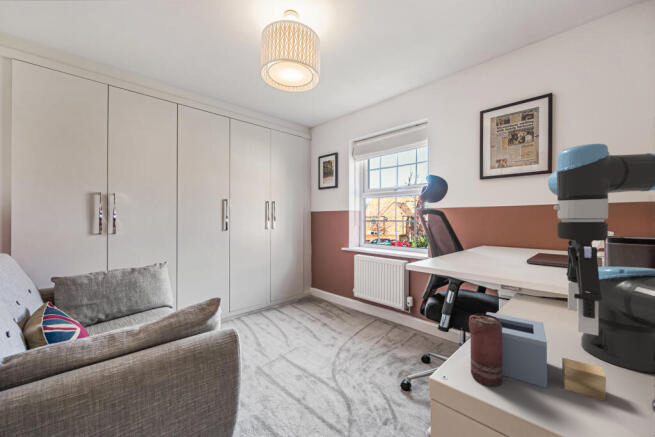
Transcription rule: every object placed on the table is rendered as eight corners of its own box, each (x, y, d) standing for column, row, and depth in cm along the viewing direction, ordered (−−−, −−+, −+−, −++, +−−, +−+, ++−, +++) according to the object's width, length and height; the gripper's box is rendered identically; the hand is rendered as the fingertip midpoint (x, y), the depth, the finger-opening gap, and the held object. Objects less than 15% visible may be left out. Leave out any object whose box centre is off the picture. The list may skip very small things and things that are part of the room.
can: (467, 367, 62) (467, 311, 62) (498, 373, 60) (497, 314, 60) (471, 383, 56) (471, 321, 56) (505, 390, 54) (505, 325, 54)
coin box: (543, 361, 64) (542, 322, 64) (546, 388, 54) (546, 342, 54) (487, 347, 71) (486, 311, 71) (481, 368, 62) (481, 327, 62)
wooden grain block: (600, 390, 54) (600, 366, 54) (605, 401, 51) (605, 376, 50) (562, 379, 57) (562, 357, 57) (564, 389, 54) (564, 366, 54)
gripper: (552, 218, 66) (552, 300, 66) (564, 222, 46) (564, 339, 46) (594, 218, 61) (593, 306, 61) (627, 223, 41) (626, 352, 42)
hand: (581, 320), depth 54 cm, fingers open, 13 cm apart
